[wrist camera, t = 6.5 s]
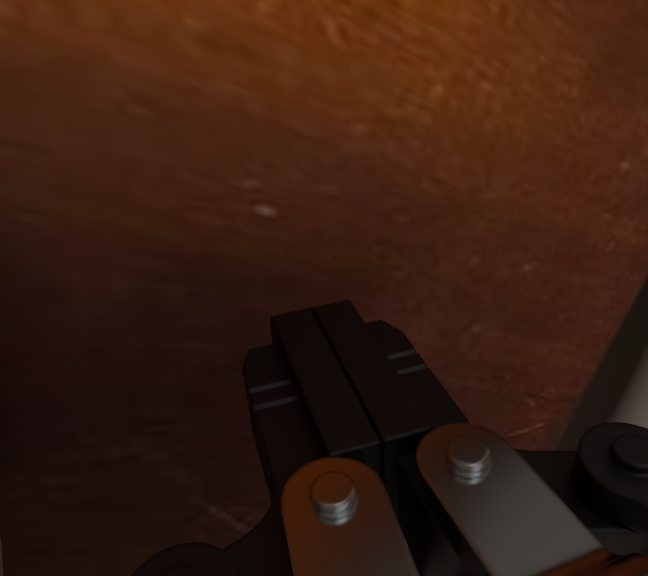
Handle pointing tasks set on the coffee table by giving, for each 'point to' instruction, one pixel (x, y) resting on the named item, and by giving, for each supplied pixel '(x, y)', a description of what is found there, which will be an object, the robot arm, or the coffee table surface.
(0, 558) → the teacup
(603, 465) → the robot arm
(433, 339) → the coffee table surface
